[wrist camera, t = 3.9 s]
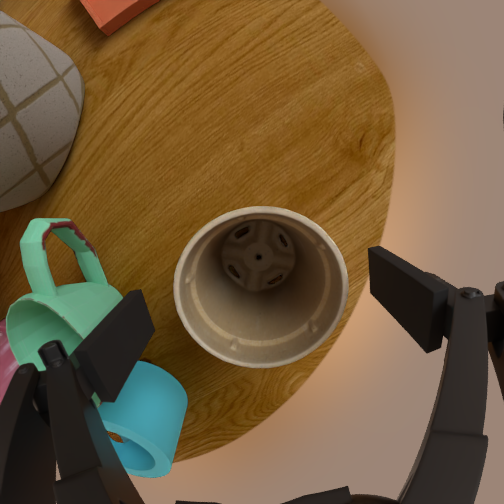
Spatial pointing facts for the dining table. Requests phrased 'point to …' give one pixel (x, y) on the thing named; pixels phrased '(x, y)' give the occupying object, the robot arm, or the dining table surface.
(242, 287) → the flower pot
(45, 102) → the planter
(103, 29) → the pot tray
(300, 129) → the dining table surface
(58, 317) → the mug
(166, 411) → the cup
